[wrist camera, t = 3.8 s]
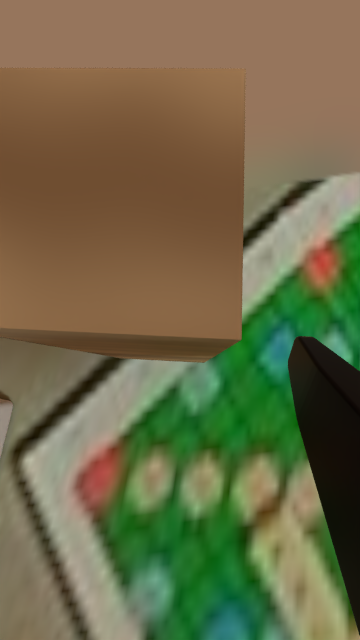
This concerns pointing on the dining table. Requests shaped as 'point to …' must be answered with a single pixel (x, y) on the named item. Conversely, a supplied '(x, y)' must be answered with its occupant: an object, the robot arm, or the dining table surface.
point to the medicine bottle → (4, 420)
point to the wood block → (122, 210)
